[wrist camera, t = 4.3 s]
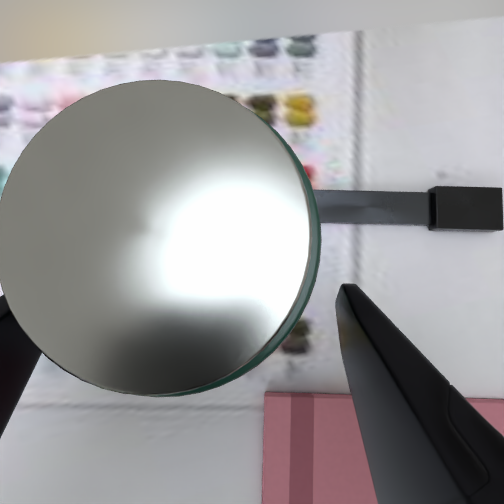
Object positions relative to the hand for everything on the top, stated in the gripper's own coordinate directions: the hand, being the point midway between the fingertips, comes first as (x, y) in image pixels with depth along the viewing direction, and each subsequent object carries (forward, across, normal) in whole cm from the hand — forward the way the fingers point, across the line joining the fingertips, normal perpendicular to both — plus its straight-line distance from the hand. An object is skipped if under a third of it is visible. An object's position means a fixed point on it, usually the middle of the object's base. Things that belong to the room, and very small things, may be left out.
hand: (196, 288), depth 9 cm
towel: (-1, -11, +13) cm, 17 cm away
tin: (+7, 0, +5) cm, 9 cm away
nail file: (+9, -11, +3) cm, 14 cm away
